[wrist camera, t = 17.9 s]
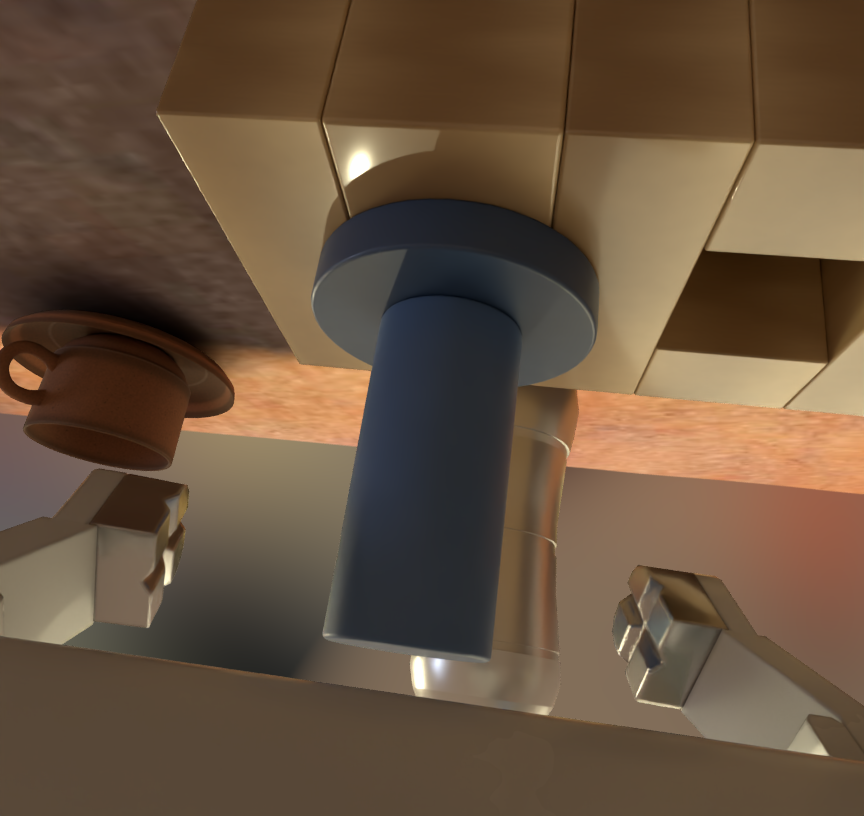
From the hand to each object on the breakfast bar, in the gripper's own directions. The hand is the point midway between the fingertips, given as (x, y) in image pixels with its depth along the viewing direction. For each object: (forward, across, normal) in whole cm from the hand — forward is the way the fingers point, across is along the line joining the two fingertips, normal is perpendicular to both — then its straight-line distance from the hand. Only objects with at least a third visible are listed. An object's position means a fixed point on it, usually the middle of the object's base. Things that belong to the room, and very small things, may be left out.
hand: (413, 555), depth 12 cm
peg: (+8, 0, -8) cm, 11 cm away
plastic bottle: (+22, -6, +3) cm, 23 cm away
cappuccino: (+20, -24, +1) cm, 31 cm away
